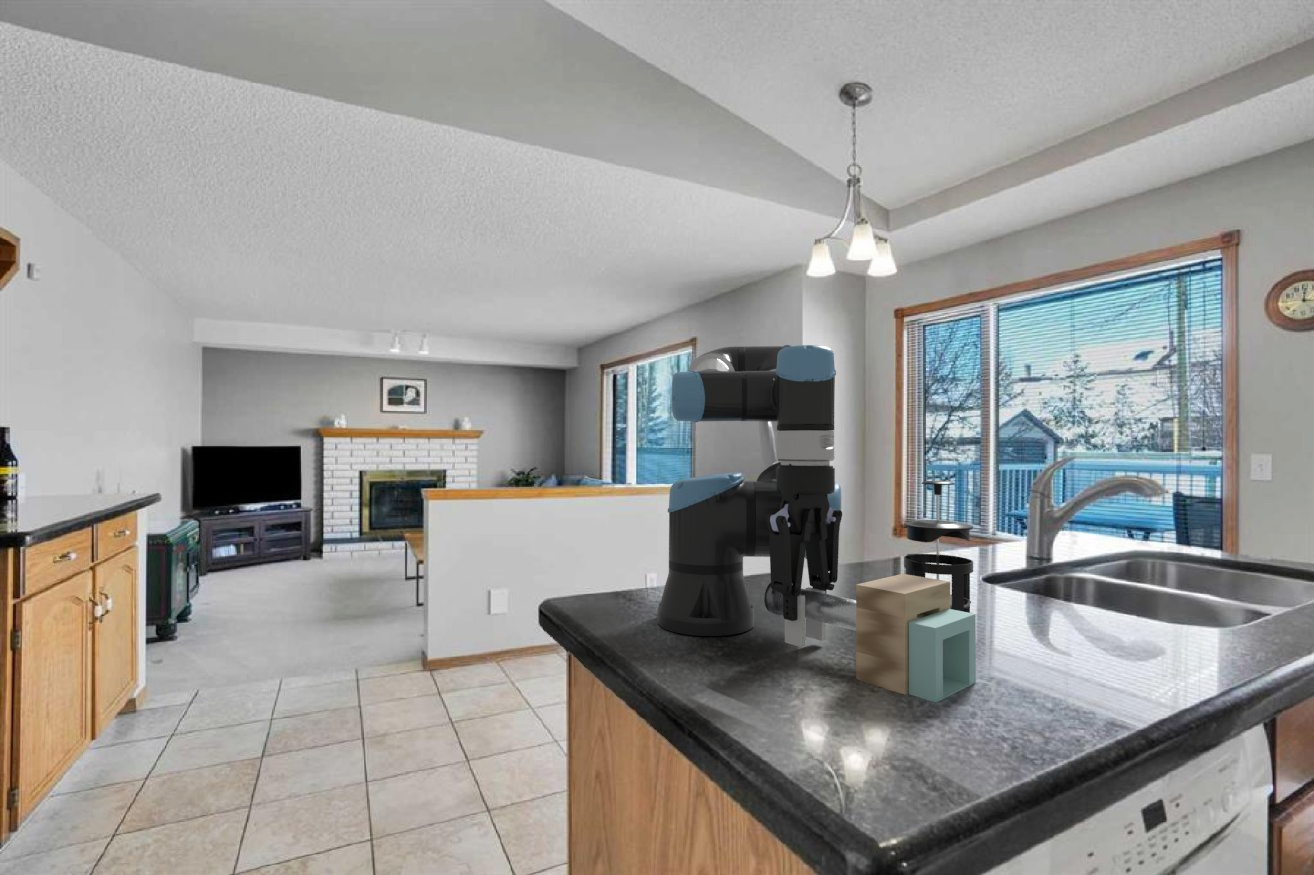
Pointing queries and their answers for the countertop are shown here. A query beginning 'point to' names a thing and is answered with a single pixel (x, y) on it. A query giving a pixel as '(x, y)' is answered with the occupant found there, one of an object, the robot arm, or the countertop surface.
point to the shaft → (819, 607)
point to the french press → (957, 565)
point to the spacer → (942, 654)
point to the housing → (892, 625)
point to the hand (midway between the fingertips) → (805, 640)
